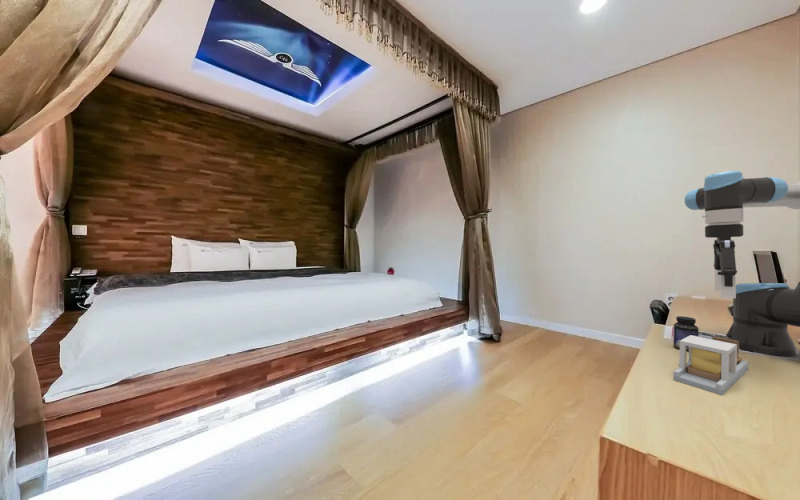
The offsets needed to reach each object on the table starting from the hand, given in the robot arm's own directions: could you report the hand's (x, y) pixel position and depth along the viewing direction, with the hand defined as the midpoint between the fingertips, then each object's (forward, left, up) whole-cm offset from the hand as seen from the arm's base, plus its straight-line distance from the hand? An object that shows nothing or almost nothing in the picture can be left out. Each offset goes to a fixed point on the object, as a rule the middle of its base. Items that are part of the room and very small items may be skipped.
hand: (724, 294), depth 83 cm
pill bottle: (-4, -12, -22) cm, 25 cm away
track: (+11, +4, -22) cm, 25 cm away
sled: (+8, +3, -20) cm, 22 cm away
